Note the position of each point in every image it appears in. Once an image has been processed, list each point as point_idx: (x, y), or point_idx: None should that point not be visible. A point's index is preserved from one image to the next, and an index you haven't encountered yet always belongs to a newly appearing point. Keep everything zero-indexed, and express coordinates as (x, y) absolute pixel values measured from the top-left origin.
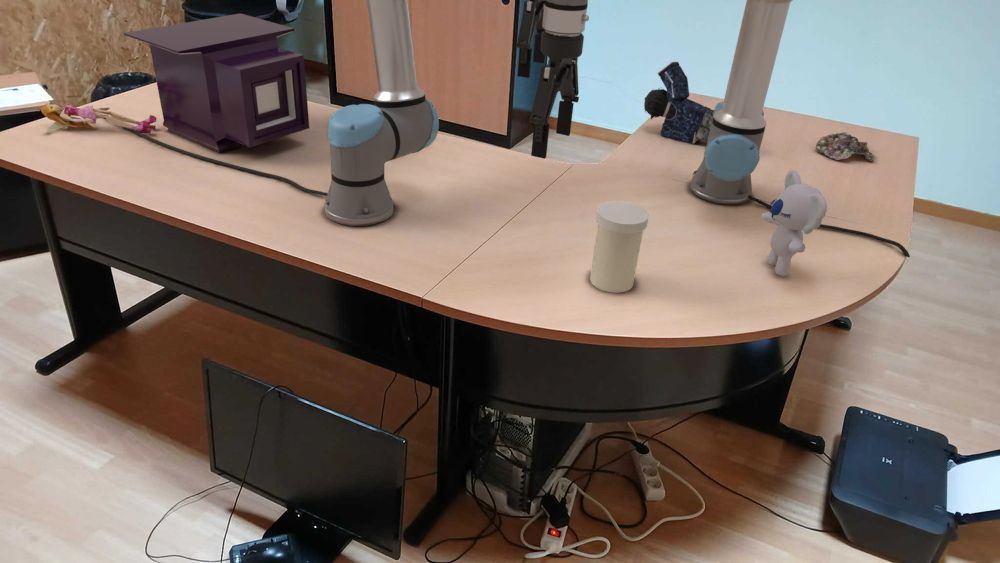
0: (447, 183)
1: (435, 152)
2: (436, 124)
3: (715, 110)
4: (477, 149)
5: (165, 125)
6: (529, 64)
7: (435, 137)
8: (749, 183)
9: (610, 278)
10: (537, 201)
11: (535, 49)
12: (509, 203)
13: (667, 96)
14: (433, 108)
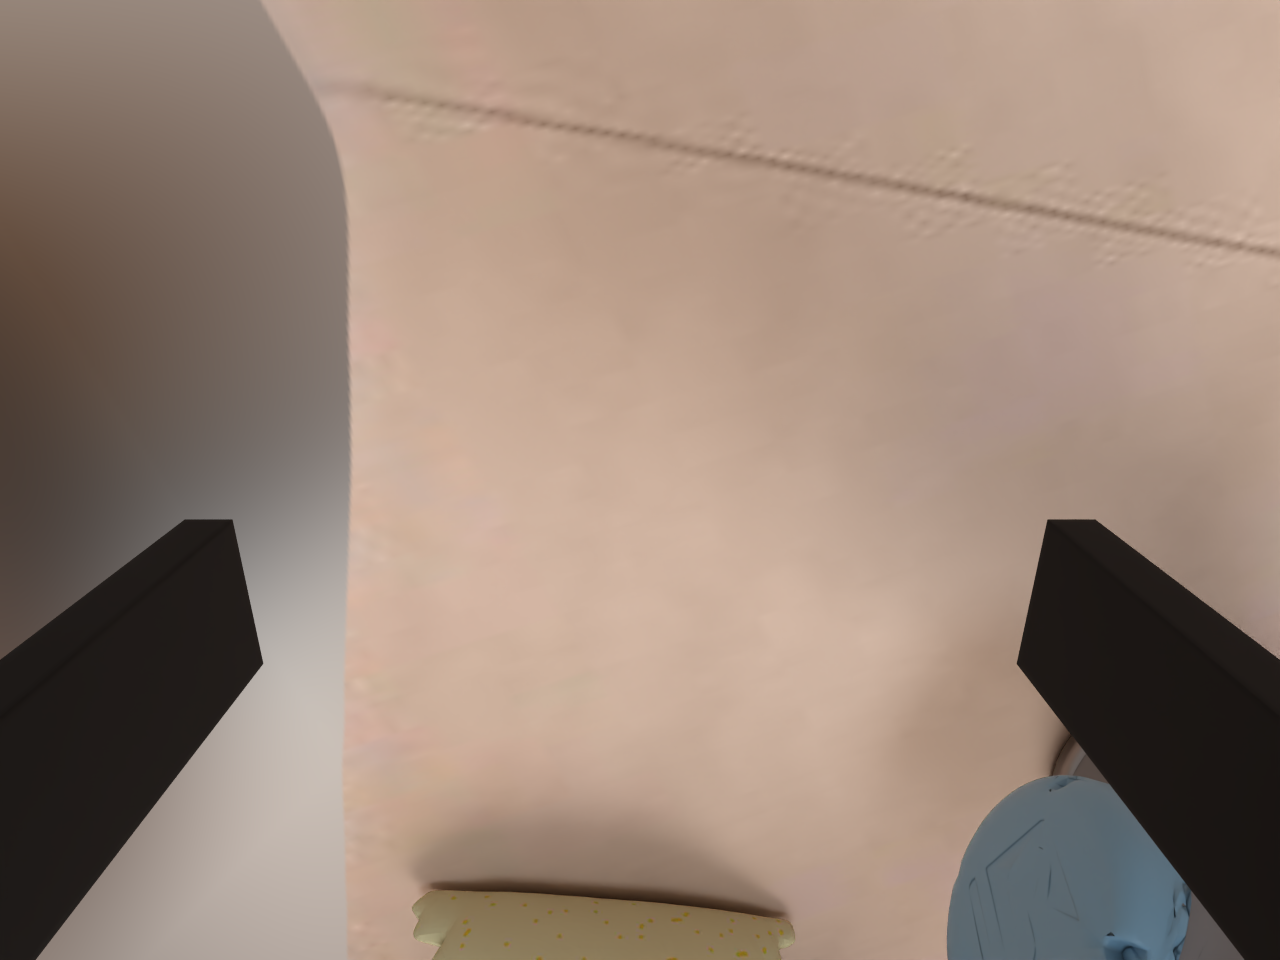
0: (832, 594)
1: (538, 736)
2: (1153, 846)
3: None
4: (408, 602)
5: None
6: (1226, 630)
7: (1104, 786)
8: None
9: None
10: (889, 156)
11: (155, 774)
12: (953, 285)
13: None
14: (1152, 951)
